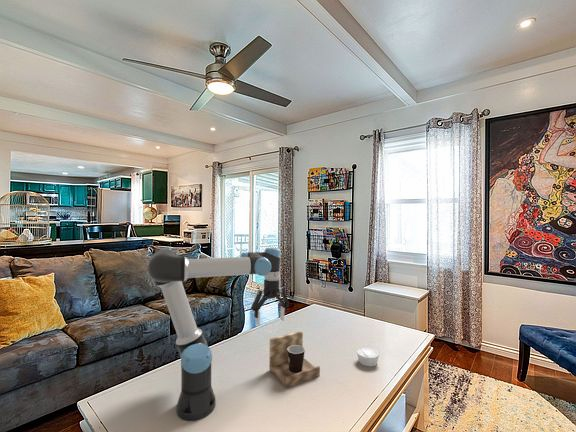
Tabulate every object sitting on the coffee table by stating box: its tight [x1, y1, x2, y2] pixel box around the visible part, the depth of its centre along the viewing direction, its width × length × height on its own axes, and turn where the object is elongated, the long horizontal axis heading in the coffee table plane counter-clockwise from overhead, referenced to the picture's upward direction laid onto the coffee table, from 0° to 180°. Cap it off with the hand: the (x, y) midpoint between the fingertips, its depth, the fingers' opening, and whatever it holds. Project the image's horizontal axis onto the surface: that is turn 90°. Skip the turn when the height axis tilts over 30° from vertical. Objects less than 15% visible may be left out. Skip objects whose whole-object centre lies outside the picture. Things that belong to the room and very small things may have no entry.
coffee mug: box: [287, 345, 306, 373], centre depth 141 cm, size 12×9×10 cm
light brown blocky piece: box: [269, 330, 321, 389], centre depth 141 cm, size 19×16×16 cm
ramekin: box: [356, 347, 380, 368], centre depth 152 cm, size 11×11×5 cm
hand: (270, 321), depth 141 cm, fingers open, 13 cm apart
